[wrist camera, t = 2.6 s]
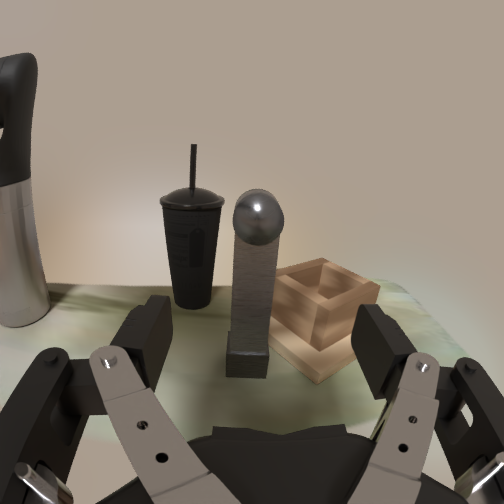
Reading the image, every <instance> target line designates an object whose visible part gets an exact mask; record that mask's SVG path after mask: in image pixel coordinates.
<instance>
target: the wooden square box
mask: <svg viewBox="0 0 504 504" xmlns="http://www.w3.org/2000/svg"><path fill="white" fill-rule="evenodd" d="M379 289H380V285H378V284H376V283H374V282H372V281H369V280H367V279H365V278H363V277H361V276H359V275H357V274H355V273H353V272H351V271H349V270H347V269H345V268H342V267H341V266H338V265H336V264H334V263H332V262H330V261H328V260H326V259H324V258H319V259H316V260H312V261H308V262H304V263H300V264H297V265H293V266H289V267H286V268H281V269H277V270H276V275H275V284H274V292H273V301H272V309H271V317H270V326H269V334H268V345H269V346H271V347H272V348H273V349H274V350H275V351H276V352H278V353H279V354H280V355H281V356H282V357H284V358H285V359H286V360H287V361H288V362H290V363H291V364H292V365H293V366H294V367H296V368H297V369H298V370H299V371H300V372H302V373H303V374H304V375H305V376H307V377H308V378H309V379H310V380H312V381H313V382H314V383H315V384H319V383H320V382H322V381H324V380H325V379H327V378H328V377H330V376H331V375H333V374H334V373H336V372H337V371H339V370H340V369H342V368H343V367H345V366H346V365H348V364H349V363H351V362H352V361H353V360H355V359H356V355H355V353H354V351H353V349H352V346H351V333H352V329H353V326H354V322H355V318H356V315H357V311H358V308H359V306H360V305H361V304H375V303H376V300H377V297H378V293H379Z"/></svg>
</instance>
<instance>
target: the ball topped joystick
mask: <svg viewBox="0 0 504 504" xmlns="http://www.w3.org/2000/svg"><path fill="white" fill-rule="evenodd" d="M283 226H284V215H283V212H282V210H281V208H280V206H279V204H278V201H277V200H276V198H275V197H274V196H273V195H272V194H271V193H270V192H268V191H266V190H263V189H252V190H249V191H247V192H245V193H243V194H242V195H241V196H240V197H239V199H238V200H237V202H236V205H235V210H234V214H233V227H234V230H235V242H234V261H233V262H234V263H233V283H232V306H231V331H228V341H227V352H226V377H240V378H266V375H267V368H268V361H269V347H268V334H269V326H270V317H271V309H272V301H273V292H274V284H275V275H276V266H277V257H278V247H279V238H280V233H281V232H282V230H283Z"/></svg>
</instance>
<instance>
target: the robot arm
mask: <svg viewBox="0 0 504 504" xmlns="http://www.w3.org/2000/svg"><path fill="white" fill-rule="evenodd" d="M37 75H38V67H37V61H36V58H35V57H34V55H33V54H31V53H21V54H15V55H11V56H6V57H2V58H0V129H1V128H4V129H3V134H2V137H1V139H0V323H1V324H2V325H4V326H8V327H20V326H24V325H28V324H30V323H33V322H35V321H37V320H38V319H40V318H41V317H42V316H44V315H45V314H46V313H47V311H48V310H49V308H50V305H51V300H50V296H49V293H48V289H47V284H46V281H45V275H44V272H43V266H42V261H41V256H40V251H39V246H38V239H37V233H36V226H35V218H34V210H33V201H32V189H31V170H30V156H31V128H32V117H33V108H34V100H35V94H36V87H37ZM172 336H173V324H172V314H171V302H170V297H169V296H161V295H151V296H150V298H149V299H148V301H147V303H146V304H145V306H143V305H138V306H137V307H136V308H134V309H133V310H131V311H130V313H129V314H128V316H127V317H126V320H124V322H123V324H122V326H121V327H120V329H119V330H118V332H117V333H116V335H115V337H114V338H113V340H112V342H111V343H110V345H109V346H104V347H101V348H98V349H97V350H95V351H94V352H93V353H92V354H91V356H90V358H89V359H72V360H70V359H69V356H68V354H67V352H66V351H65V350H64V349H61V348H57V347H53V348H48V349H45V350H43V351H42V352H40V353H39V354H38V355H37V356H36V358H35V359H34V361H33V362H32V363H31V365H30V366H29V368H28V369H27V371H26V372H25V374H24V375H23V377H22V378H21V380H20V381H19V383H18V385H17V386H16V388H15V389H14V391H13V392H12V394H11V396H10V397H9V399H8V401H7V402H6V404H5V406H4V407H3V409H2V411H1V412H0V504H73V496H72V493H71V491H70V490H69V488H68V487H67V486H66V481H67V478H68V474H69V472H70V469H71V465H72V462H73V459H74V457H75V454H76V451H77V447H78V445H79V442H80V439H81V437H82V434H83V431H84V428H85V426H86V423H87V420H88V418H89V415H109V418H110V420H111V422H112V425H113V427H114V429H115V431H116V434H117V436H118V438H119V440H120V442H121V444H122V446H123V448H124V450H125V452H126V454H127V456H128V458H129V460H130V462H131V464H132V466H133V467H134V470H135V471H136V473H137V475H138V476H137V477H136V478H135V479H134V480H132V481H130V482H129V483H127V484H126V485H124V486H123V487H121V488H120V489H118V490H117V491H115V492H113V493H112V494H110V495H109V496H107V497H106V498H104V499H103V500H101V501H99V502H97V503H96V504H504V397H503V396H502V394H501V393H500V391H499V390H498V388H497V387H496V386H495V384H494V383H493V381H492V380H491V378H490V377H489V376H488V374H487V373H486V371H485V370H484V369H483V367H482V366H481V365H480V364H479V363H478V362H477V361H475V360H473V359H471V358H466V357H463V358H460V359H458V360H457V362H456V364H455V366H454V368H451V367H441V366H439V363H438V361H437V360H436V359H435V358H434V357H432V356H431V355H429V354H426V353H421V352H417V350H416V349H415V347H414V346H413V344H412V343H411V342H410V340H409V339H408V337H407V336H406V335H405V333H404V332H403V330H402V329H401V328H400V326H399V325H398V323H397V322H396V321H395V320H394V319H392V318H391V317H390V316H388V315H385V314H384V312H383V311H382V310H381V308H380V307H379V305H378V304H361V305H360V306H359V308H358V311H357V315H356V318H355V322H354V326H353V329H352V333H351V346H352V349H353V351H354V353H355V355H356V358H357V360H358V362H359V364H360V367H361V369H362V371H363V373H364V376H365V378H366V380H367V383H368V385H369V387H370V390H371V392H372V394H373V397H374V399H375V400H377V399H384V398H386V400H387V402H386V404H385V406H384V408H383V410H382V412H381V415H380V417H379V419H378V421H377V424H376V426H375V428H374V430H373V432H372V434H371V436H370V438H366V437H364V436H360V435H357V434H352V433H347V431H346V427H345V424H340V425H331V426H319V427H312V428H308V429H305V430H301V431H297V432H293V433H289V434H285V435H277V434H272V433H267V432H262V431H257V430H253V429H248V428H231V427H215V426H213V431H212V435H210V436H204V437H200V438H196V439H193V440H190V441H188V442H186V441H185V439H184V438H183V437H182V435H181V434H180V432H179V431H178V430H177V428H176V427H175V425H174V424H173V422H172V421H171V419H170V418H169V416H168V415H167V413H166V412H165V410H164V409H163V407H162V406H161V404H160V402H159V401H158V399H157V398H156V396H155V394H154V392H155V389H156V386H157V383H158V380H159V377H160V374H161V371H162V368H163V365H164V362H165V359H166V356H167V353H168V350H169V347H170V344H171V341H172ZM465 404H467V405H468V407H469V409H470V411H471V412H472V414H473V423H472V426H471V427H469V425H468V423H467V421H466V419H465V417H464V415H463V414H462V412H461V409H462V408H463V406H464V405H465ZM433 430H435V432H436V434H437V437H438V439H439V441H440V444H441V446H442V448H443V451H444V453H445V456H446V458H447V461H448V463H449V466H450V468H451V471H452V473H453V476H454V479H455V482H456V483H455V486H454V491H453V490H451V489H450V488H448V487H446V486H444V485H443V484H441V483H439V482H438V481H436V480H434V479H432V478H431V477H429V476H428V475H426V474H424V473H422V469H423V466H424V463H425V460H426V456H427V453H428V449H429V445H430V442H431V438H432V434H433Z"/></svg>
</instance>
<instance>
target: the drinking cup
mask: <svg viewBox="0 0 504 504" xmlns="http://www.w3.org/2000/svg"><path fill="white" fill-rule="evenodd" d="M196 153H197V144H191V156H190V187H189V188H182V189H178V190H176V191H173V192H171V193H169V194H168V195H166V196H163V197H161V198H160V204H161V205H162V209H163V218H164V227H165V235H166V244H167V252H168V259H169V266H170V274H171V280H172V287H173V293H174V299H175V303H176V304H177V305H178V306H179V307H182V308H185V309H200V308H203V307H205V306H207V305H208V304H209V303H210V299H211V290H212V281H213V272H214V263H215V255H216V247H217V238H218V231H219V223H220V215H221V208H222V205H224V202H225V200H224V198H223V197H221V196H218V195H216V194H215V193H213V192H211V191H209V190H206V189H202V188H195V179H196Z"/></svg>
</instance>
